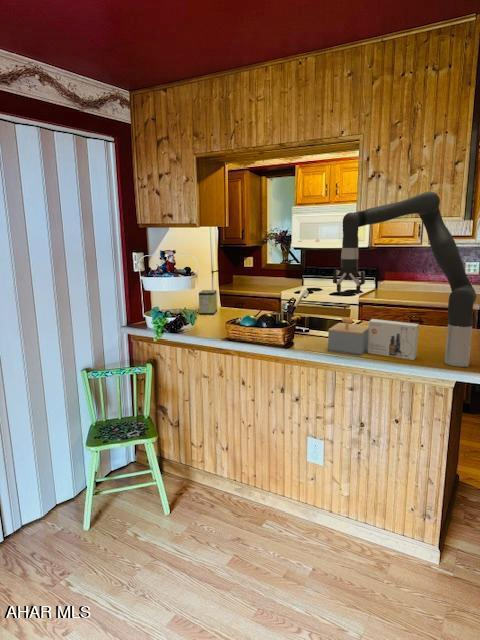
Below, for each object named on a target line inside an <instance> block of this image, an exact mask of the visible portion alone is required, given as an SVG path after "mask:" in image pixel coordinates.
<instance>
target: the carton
mask: <svg viewBox="0 0 480 640" xmlns="http://www.w3.org/2000/svg"><path fill="white" fill-rule="evenodd" d="M327 333H328V334H327V336H328V337H327V352H330V351H331V352H332V353H337V352H339V353H338V354H346V355H354V356H363V355H364V354H366V351H367V352H368V336H369V329H368V330H367V331H366V332H365V333H363V334H353V333H344V332H335V331H329V330H328V332H327ZM331 352H330V353H331Z"/></svg>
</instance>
